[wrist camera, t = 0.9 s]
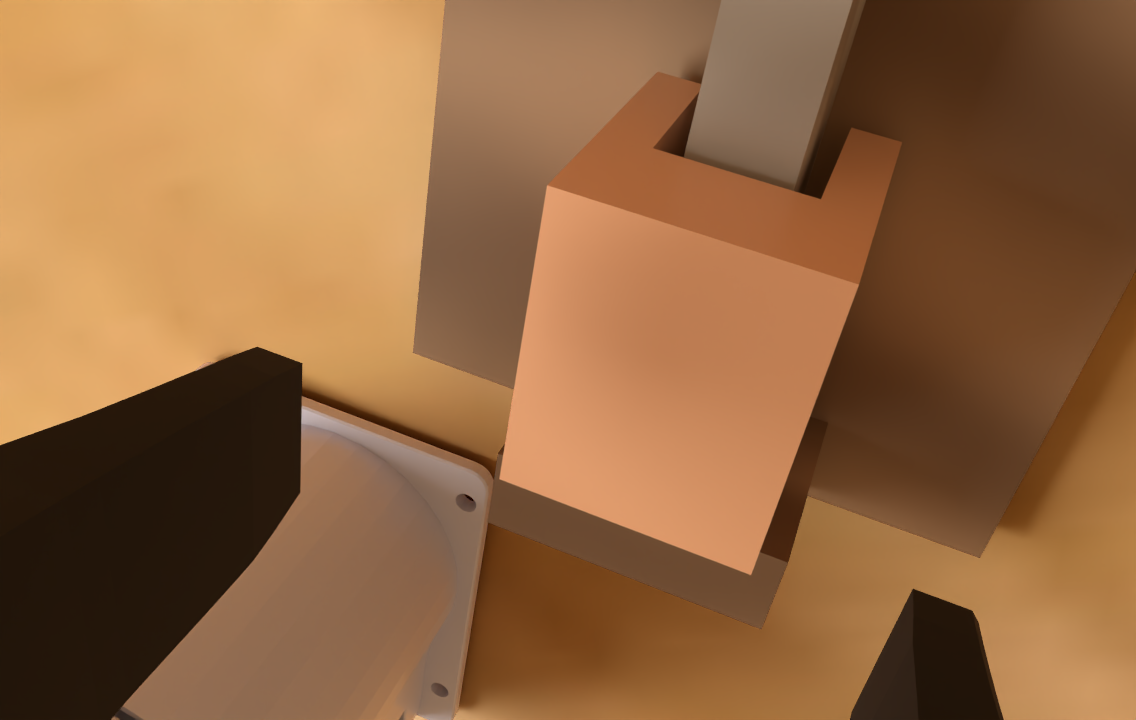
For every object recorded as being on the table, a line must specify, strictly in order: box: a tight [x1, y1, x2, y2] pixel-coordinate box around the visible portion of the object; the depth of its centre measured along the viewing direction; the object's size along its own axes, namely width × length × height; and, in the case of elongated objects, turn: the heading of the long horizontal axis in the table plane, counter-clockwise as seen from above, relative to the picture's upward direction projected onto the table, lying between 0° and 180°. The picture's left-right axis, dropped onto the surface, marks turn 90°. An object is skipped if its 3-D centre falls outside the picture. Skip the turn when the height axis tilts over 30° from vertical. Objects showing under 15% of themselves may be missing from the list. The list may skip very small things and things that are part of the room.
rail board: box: [413, 0, 1136, 629], centre depth 15 cm, size 18×12×5 cm, turn 170°
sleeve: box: [499, 72, 902, 575], centre depth 17 cm, size 5×4×5 cm
